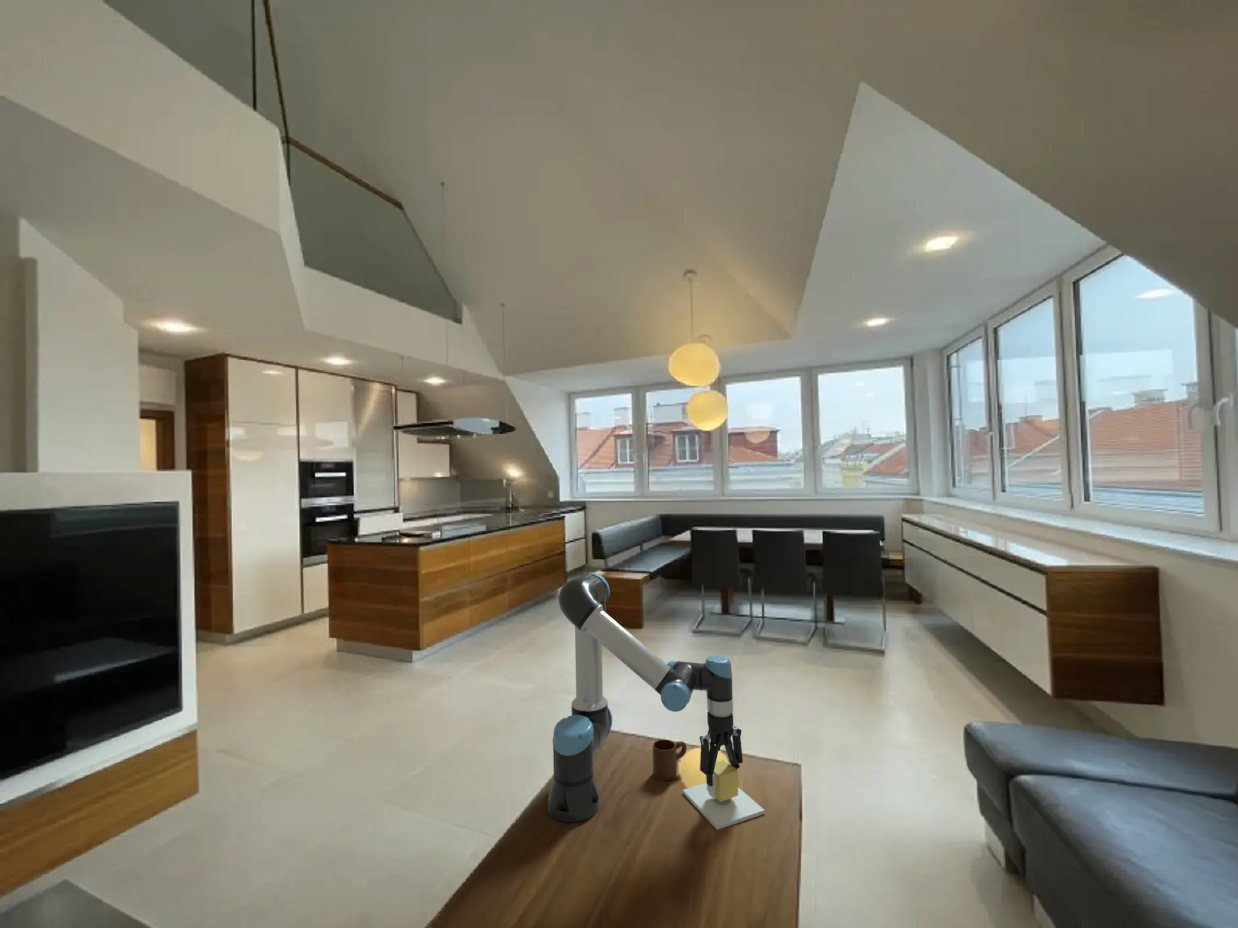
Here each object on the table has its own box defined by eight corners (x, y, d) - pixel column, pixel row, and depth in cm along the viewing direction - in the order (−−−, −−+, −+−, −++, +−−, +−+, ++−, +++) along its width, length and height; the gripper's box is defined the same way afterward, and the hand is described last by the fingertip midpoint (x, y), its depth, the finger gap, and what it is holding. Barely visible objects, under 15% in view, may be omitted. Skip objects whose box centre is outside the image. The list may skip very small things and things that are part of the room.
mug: (680, 762, 168) (680, 734, 169) (692, 774, 161) (692, 744, 162) (649, 771, 163) (648, 741, 164) (660, 783, 156) (659, 752, 157)
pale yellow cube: (724, 783, 151) (723, 759, 151) (738, 795, 145) (737, 770, 145) (706, 789, 148) (706, 765, 148) (720, 801, 142) (719, 776, 142)
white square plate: (682, 793, 151) (682, 763, 152) (726, 780, 158) (726, 752, 158) (717, 829, 135) (716, 796, 135) (764, 813, 141) (763, 782, 142)
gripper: (737, 700, 155) (740, 777, 154) (685, 713, 147) (687, 795, 145) (754, 709, 149) (757, 789, 147) (700, 724, 140) (702, 809, 139)
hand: (722, 792), depth 146 cm, fingers closed on pale yellow cube, 6 cm apart
